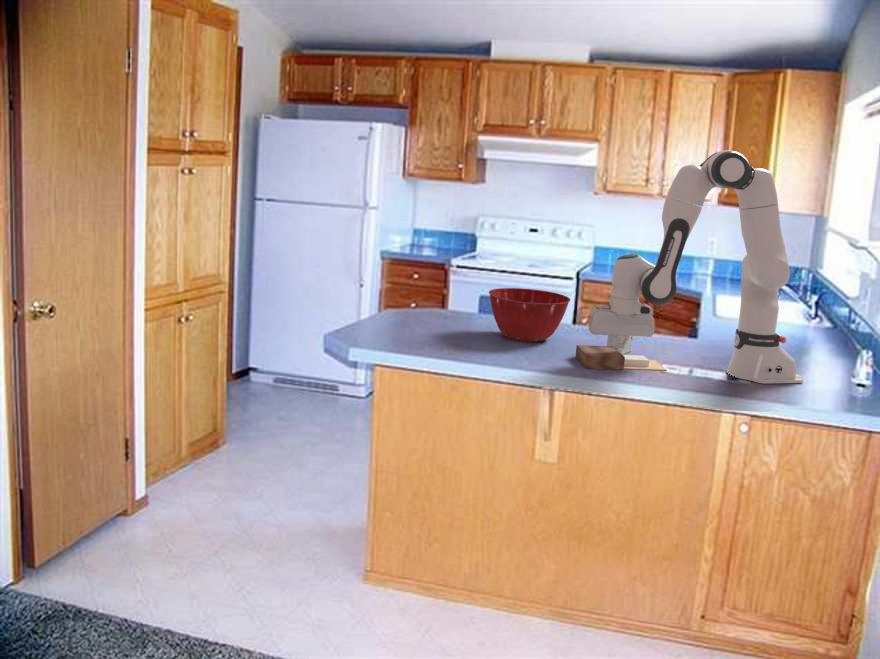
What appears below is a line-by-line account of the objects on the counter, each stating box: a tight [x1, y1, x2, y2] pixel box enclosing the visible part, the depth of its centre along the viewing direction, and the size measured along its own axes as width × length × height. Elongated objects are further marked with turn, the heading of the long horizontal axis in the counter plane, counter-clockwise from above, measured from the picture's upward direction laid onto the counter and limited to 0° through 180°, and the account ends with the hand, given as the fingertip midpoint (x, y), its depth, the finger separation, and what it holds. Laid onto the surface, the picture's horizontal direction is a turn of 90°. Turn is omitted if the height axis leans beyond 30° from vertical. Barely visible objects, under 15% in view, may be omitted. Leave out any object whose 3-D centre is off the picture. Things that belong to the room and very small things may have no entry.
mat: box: [624, 359, 667, 371], centre depth 278 cm, size 14×12×1 cm
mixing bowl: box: [488, 287, 571, 343], centre depth 305 cm, size 28×28×16 cm
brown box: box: [575, 344, 625, 371], centre depth 276 cm, size 12×14×4 cm
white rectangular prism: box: [623, 354, 650, 367], centre depth 278 cm, size 9×6×2 cm, turn 94°
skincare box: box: [606, 335, 633, 355], centre depth 293 cm, size 8×6×15 cm
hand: (619, 349), depth 276 cm, fingers closed
